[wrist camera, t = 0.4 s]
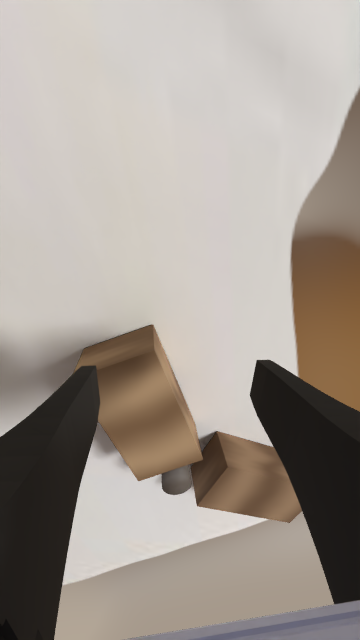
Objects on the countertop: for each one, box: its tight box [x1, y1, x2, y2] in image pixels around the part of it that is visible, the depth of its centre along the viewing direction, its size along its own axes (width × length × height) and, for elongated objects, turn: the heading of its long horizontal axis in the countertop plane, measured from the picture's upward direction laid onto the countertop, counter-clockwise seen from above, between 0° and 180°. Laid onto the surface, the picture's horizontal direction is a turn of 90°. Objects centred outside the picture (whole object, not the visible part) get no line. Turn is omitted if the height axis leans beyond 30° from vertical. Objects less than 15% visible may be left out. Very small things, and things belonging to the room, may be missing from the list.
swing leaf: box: [73, 325, 203, 495], centre depth 22 cm, size 15×6×4 cm, turn 18°
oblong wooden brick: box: [191, 431, 302, 523], centre depth 27 cm, size 12×6×4 cm, turn 63°
